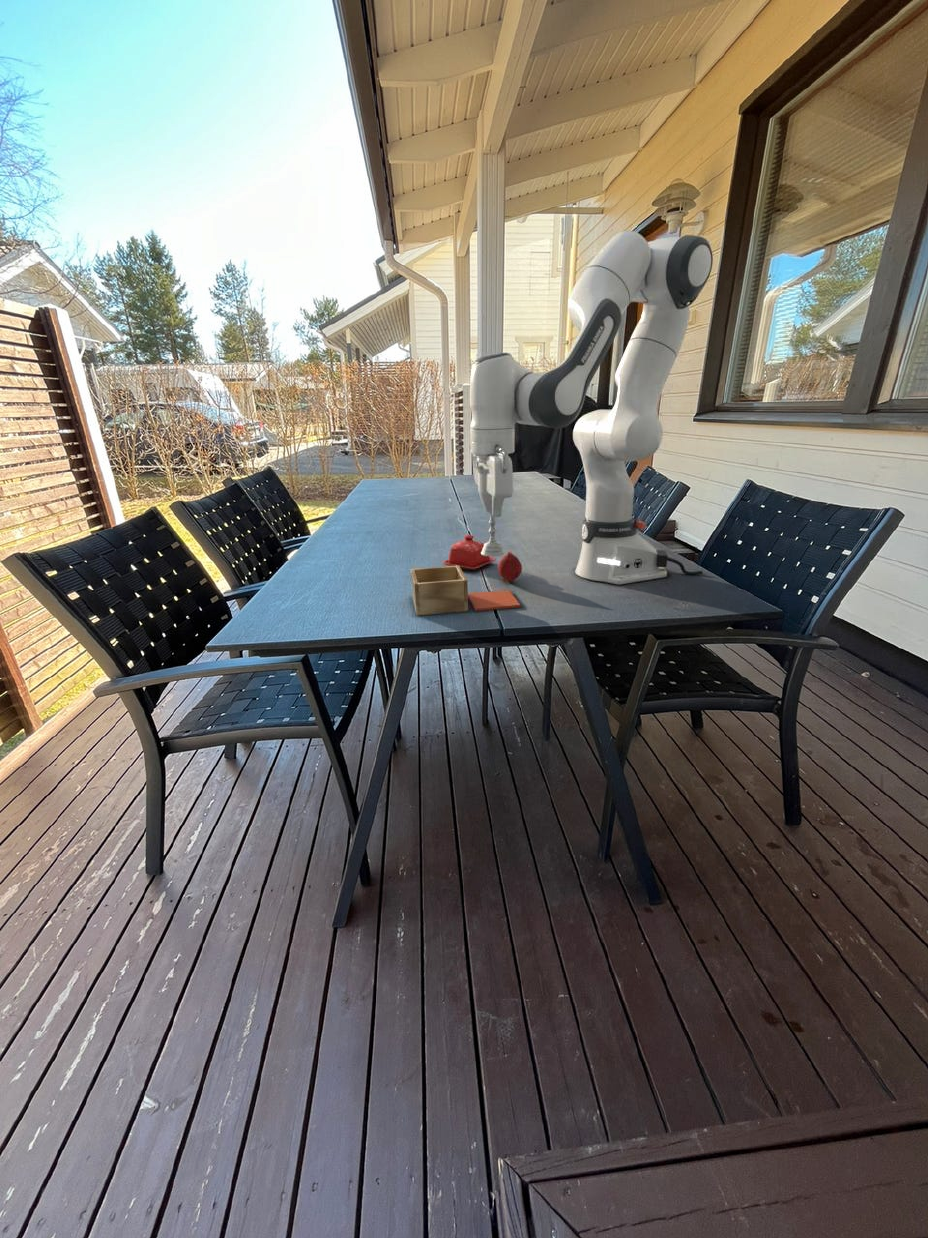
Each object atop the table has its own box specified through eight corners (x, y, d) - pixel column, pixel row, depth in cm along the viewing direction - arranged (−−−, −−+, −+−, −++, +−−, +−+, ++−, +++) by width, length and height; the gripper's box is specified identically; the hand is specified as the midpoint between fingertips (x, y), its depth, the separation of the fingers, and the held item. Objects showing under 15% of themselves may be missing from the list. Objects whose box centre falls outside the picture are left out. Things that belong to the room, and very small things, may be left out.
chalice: (505, 558, 109) (506, 469, 102) (473, 557, 111) (472, 469, 104) (510, 549, 116) (511, 464, 109) (479, 548, 117) (479, 464, 110)
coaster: (508, 592, 123) (508, 589, 123) (520, 607, 114) (520, 604, 113) (467, 595, 121) (466, 593, 121) (475, 611, 112) (475, 608, 112)
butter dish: (464, 557, 151) (463, 528, 148) (498, 563, 145) (498, 532, 142) (440, 567, 143) (438, 536, 140) (474, 574, 137) (474, 542, 133)
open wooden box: (459, 594, 123) (458, 565, 120) (468, 611, 112) (467, 580, 110) (412, 598, 121) (410, 568, 118) (416, 615, 111) (414, 584, 108)
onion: (526, 581, 130) (526, 550, 127) (511, 587, 126) (512, 555, 123) (507, 577, 133) (507, 546, 130) (493, 583, 129) (493, 551, 126)
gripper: (521, 447, 96) (520, 522, 101) (496, 440, 114) (496, 504, 120) (488, 448, 95) (488, 524, 100) (467, 441, 113) (469, 505, 119)
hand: (492, 513), depth 110 cm, fingers closed on chalice, 5 cm apart
